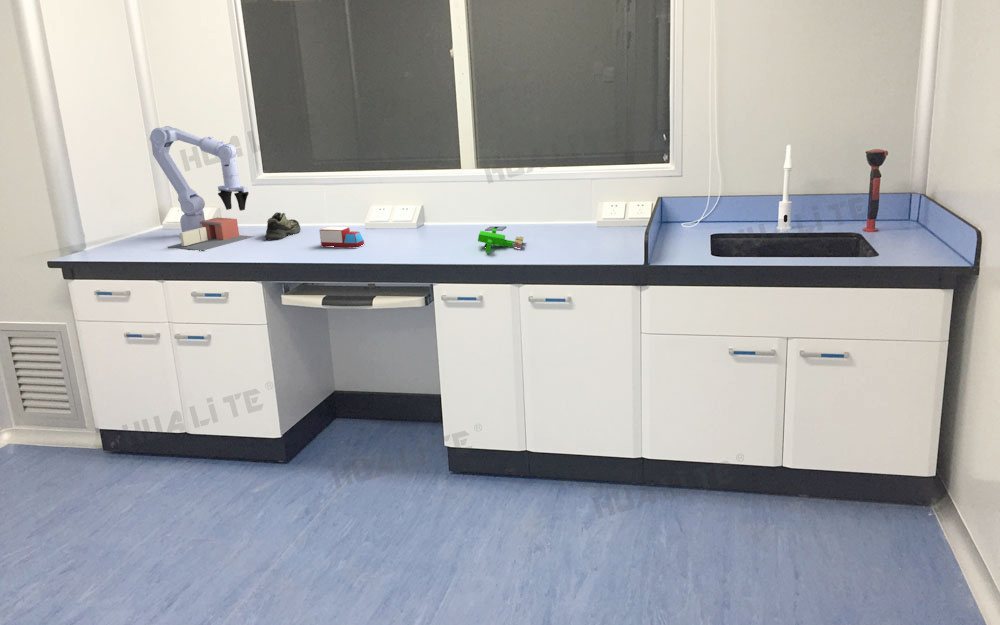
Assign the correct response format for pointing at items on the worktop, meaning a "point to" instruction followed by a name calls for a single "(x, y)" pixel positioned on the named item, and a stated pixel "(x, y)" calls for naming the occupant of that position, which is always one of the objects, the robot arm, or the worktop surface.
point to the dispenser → (221, 228)
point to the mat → (209, 243)
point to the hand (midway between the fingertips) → (235, 209)
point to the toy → (497, 240)
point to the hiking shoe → (281, 227)
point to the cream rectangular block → (193, 236)
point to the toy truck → (340, 237)
